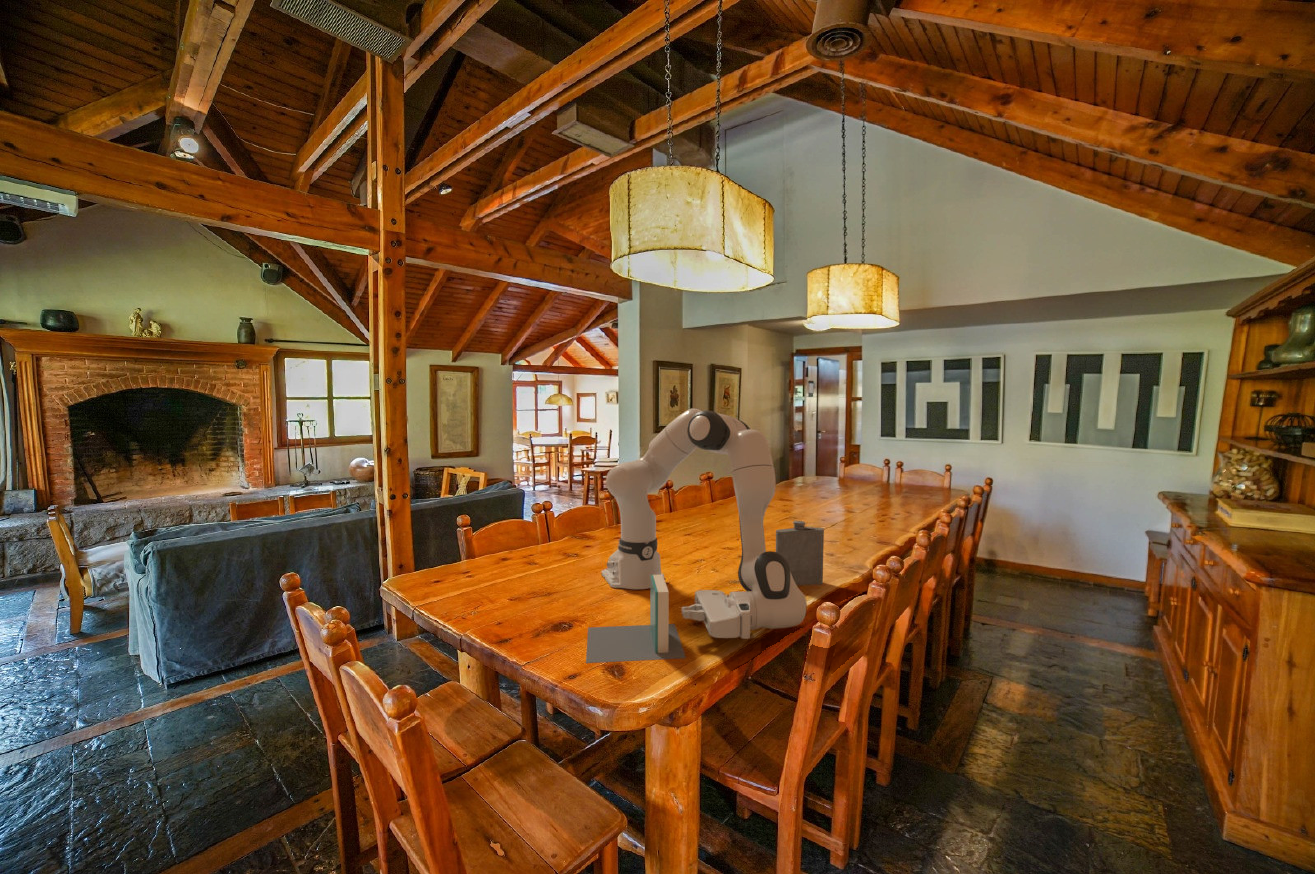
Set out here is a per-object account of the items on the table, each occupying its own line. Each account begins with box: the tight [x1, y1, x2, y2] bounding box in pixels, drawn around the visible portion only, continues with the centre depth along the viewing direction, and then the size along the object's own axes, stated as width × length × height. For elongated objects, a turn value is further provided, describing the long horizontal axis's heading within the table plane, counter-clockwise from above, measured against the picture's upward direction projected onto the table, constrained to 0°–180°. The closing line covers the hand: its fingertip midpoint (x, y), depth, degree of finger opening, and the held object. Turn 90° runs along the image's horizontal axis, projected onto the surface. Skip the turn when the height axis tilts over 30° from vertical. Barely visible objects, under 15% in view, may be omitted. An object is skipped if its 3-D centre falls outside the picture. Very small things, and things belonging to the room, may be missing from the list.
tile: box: [649, 573, 670, 653], centre depth 122 cm, size 3×12×14 cm, turn 6°
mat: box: [585, 623, 687, 664], centre depth 122 cm, size 22×18×1 cm
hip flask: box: [775, 520, 825, 586], centre depth 163 cm, size 16×4×20 cm, turn 102°
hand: (682, 612), depth 123 cm, fingers closed
